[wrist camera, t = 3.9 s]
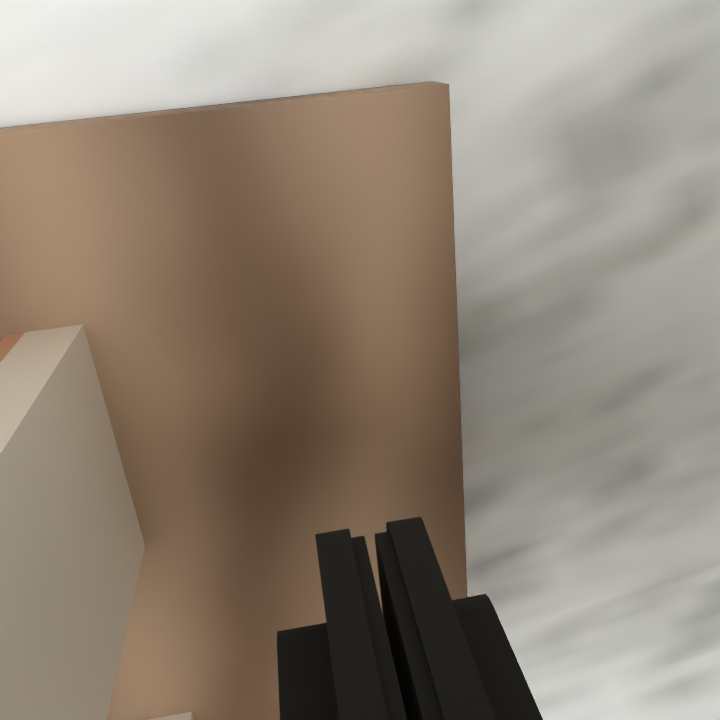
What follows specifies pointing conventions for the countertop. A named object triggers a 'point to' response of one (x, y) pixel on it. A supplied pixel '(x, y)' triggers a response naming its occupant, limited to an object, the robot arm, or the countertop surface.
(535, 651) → the countertop surface
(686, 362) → the countertop surface
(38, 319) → the board
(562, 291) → the countertop surface
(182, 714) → the tile
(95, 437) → the tile
